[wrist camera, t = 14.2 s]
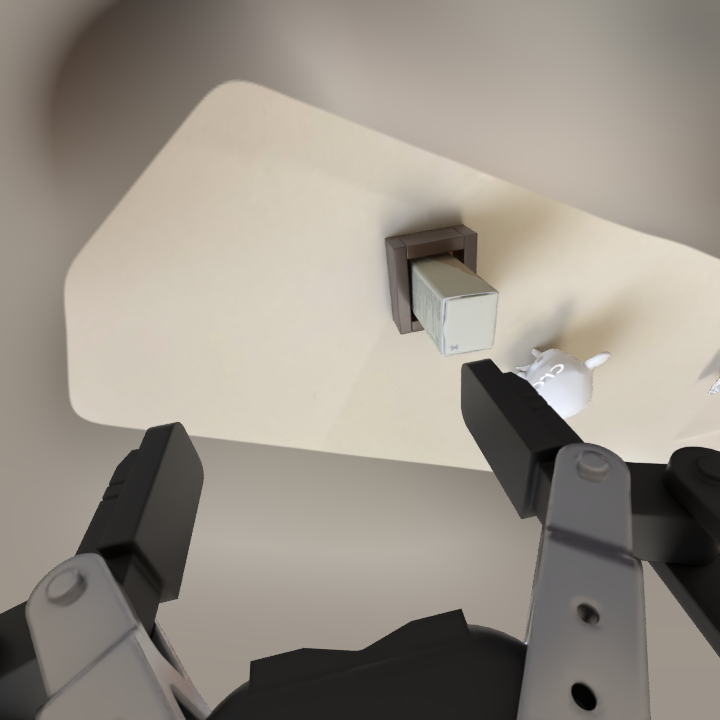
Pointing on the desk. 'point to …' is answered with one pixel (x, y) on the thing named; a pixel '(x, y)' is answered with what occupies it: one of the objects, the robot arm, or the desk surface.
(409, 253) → the box
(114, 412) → the desk surface
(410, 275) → the box
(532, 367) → the figurine
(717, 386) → the toy fish
